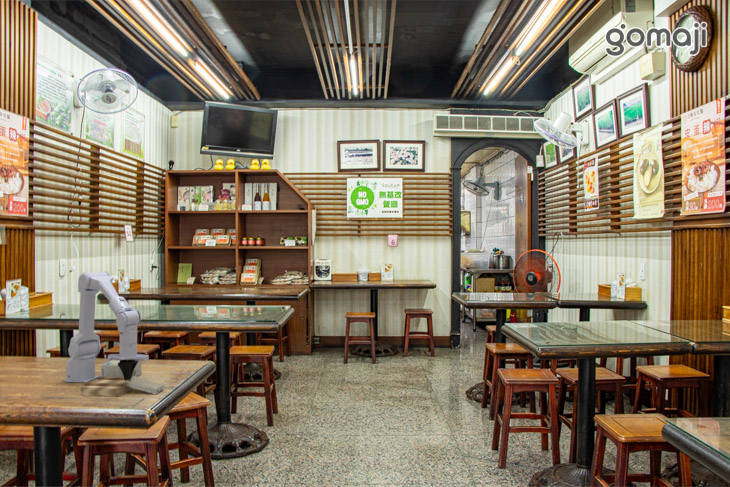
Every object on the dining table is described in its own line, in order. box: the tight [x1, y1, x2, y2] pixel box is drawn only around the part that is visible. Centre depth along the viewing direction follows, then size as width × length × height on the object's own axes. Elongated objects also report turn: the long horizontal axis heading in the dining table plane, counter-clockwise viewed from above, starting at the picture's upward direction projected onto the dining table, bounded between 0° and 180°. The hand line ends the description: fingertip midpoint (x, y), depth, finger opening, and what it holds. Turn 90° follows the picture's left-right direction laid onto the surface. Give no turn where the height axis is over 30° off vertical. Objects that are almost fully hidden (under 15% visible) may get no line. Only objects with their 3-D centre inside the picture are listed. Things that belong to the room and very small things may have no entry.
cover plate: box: [125, 376, 165, 395], centre depth 159 cm, size 12×5×2 cm, turn 86°
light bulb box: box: [100, 360, 142, 377], centre depth 176 cm, size 11×7×11 cm
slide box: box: [80, 376, 135, 398], centre depth 160 cm, size 14×12×4 cm
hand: (127, 380), depth 160 cm, fingers closed
